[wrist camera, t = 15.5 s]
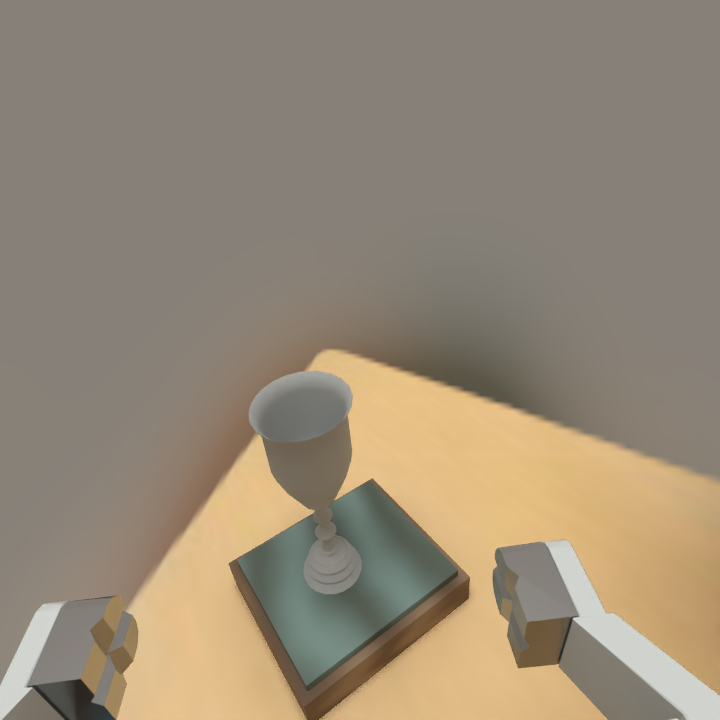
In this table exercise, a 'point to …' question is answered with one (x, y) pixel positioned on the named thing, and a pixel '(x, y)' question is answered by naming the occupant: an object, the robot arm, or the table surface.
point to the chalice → (311, 462)
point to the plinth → (348, 597)
